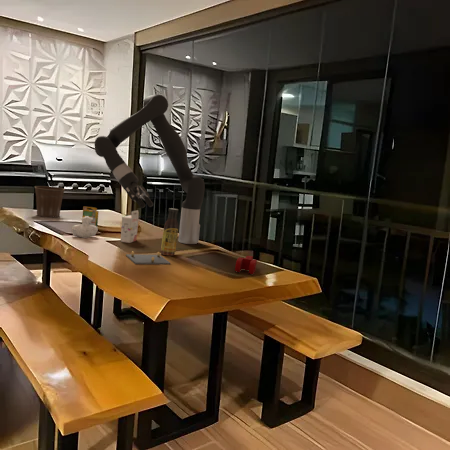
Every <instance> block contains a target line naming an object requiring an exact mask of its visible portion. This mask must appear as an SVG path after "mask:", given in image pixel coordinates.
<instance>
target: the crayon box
mask: <svg viewBox="0 0 450 450" xmlns="http://www.w3.org/2000/svg"><path fill="white" fill-rule="evenodd" d="M85 216H89V217H90V218H93V220H91V223H89V224H90V225H94V226H96V227H97V228H98V222H99V211H98V208H97V207H93V206H83V207H82V216H81V217H82V218H83V217H85ZM82 222H83V220H81V225H82V224H83V223H82Z"/></svg>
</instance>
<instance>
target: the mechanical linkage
mask: <svg viewBox="0 0 450 450" xmlns="http://www.w3.org/2000/svg"><path fill="white" fill-rule="evenodd" d="M257 262H258V260H257V259H254V256H252V255H246V256H245V257H240V256H239V257H238V258H237V259H236V261H235V266H234V267H235V268H234V272H235V271H237V272H240V270H241V269H245V270H249V272H248V274H249V273H250V274H253V273H254V272H255V273H256V269H257ZM241 271H242V270H241ZM237 272H236V273H237ZM240 273H241V272H240ZM255 273H254V274H255ZM250 274H249V275H250Z"/></svg>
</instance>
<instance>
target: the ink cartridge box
mask: <svg viewBox="0 0 450 450" xmlns="http://www.w3.org/2000/svg"><path fill="white" fill-rule="evenodd" d="M120 227H121V229H120V242H122V243H127V244H130V243H133V242H136V241H137V239H138V230H139V229H138V228H139V210H138V209H137V210H132V211H131V214H130V215H125V216H122V217H121V226H120Z"/></svg>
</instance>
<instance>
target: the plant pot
mask: <svg viewBox="0 0 450 450" xmlns="http://www.w3.org/2000/svg"><path fill="white" fill-rule="evenodd" d="M34 189H35V196H36V197H35V198H36V199H35V201H36V216H39V217H42V218H43V217H44V218H50V217H51V218H58V217H60V214H61V207H62V202H63V197H64V192H65V190H66V188H62V187H57V186H49V185H48V186H46V185H35V186H34Z"/></svg>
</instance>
